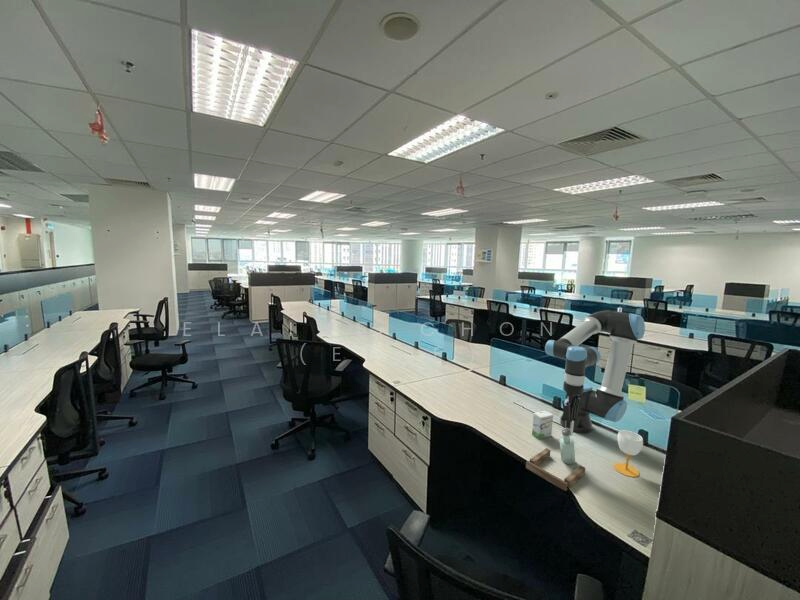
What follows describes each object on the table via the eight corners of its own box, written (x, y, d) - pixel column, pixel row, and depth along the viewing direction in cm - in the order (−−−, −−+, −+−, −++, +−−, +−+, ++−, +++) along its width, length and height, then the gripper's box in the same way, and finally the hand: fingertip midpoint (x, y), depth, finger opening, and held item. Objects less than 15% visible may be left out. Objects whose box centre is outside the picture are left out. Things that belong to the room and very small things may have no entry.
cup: (640, 469, 139) (645, 435, 136) (637, 480, 132) (642, 444, 130) (615, 460, 145) (619, 427, 142) (611, 470, 138) (616, 435, 136)
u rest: (545, 454, 149) (546, 448, 148) (584, 474, 135) (585, 467, 135) (525, 468, 139) (526, 461, 138) (565, 491, 125) (566, 484, 125)
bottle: (564, 452, 147) (562, 425, 142) (577, 458, 143) (575, 430, 138) (558, 459, 145) (556, 432, 139) (571, 466, 140) (569, 438, 135)
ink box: (538, 439, 160) (540, 417, 159) (531, 434, 165) (533, 412, 163) (551, 436, 163) (553, 414, 162) (544, 431, 168) (546, 410, 166)
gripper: (571, 376, 144) (567, 425, 148) (557, 383, 137) (552, 435, 140) (589, 382, 138) (584, 433, 142) (575, 389, 131) (570, 443, 134)
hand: (568, 434), depth 141 cm, fingers closed
